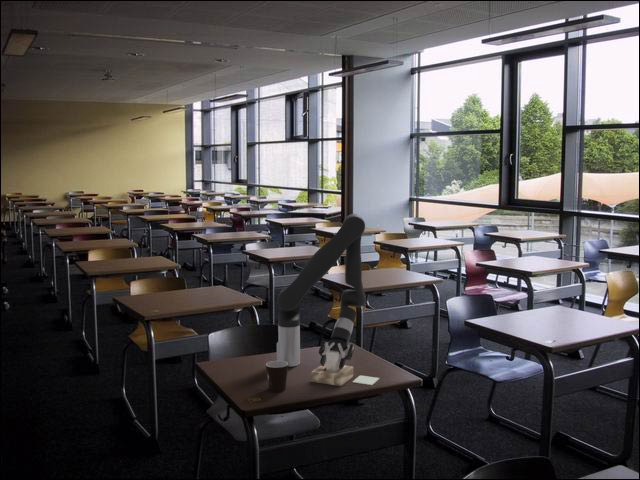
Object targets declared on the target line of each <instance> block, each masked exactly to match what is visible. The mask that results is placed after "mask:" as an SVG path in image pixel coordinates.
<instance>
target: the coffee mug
mask: <svg viewBox="0 0 640 480" xmlns="http://www.w3.org/2000/svg"><path fill="white" fill-rule="evenodd" d="M265 369H266V377H267V383H268V390H269V392H273V393H280V392H281V393H282V392H284V391H286V388H287V379H288V369H289V367H288V363H287V362H285V361H277V360H271V361H267V362H266V363H265Z"/></svg>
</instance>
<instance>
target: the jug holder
mask: <svg viewBox="0 0 640 480" xmlns="http://www.w3.org/2000/svg"><path fill="white" fill-rule="evenodd" d="M310 374H311V376H310V377H311V380H310V381H311V382H312V383H318V384H319V383H320V384H324V385H325V384H326V385H332V386H337V387H338V386H339V387H341V386H343V385H344V384H346V383H347V382H348V381H349V380H350V379H352V378H353V377H354V366H351V365H346V364H345V365H344V367H343V368H342V369H340V368H339V372H337V373H334V372H328V371H326V362H325V364H324V366H322V365H321V364H320V366H318V367H316V368H315V369H313V370H312V371H311V373H310Z"/></svg>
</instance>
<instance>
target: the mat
mask: <svg viewBox="0 0 640 480" xmlns="http://www.w3.org/2000/svg"><path fill="white" fill-rule="evenodd" d="M379 380H380V377H376V376H375V377H373V376H367V375H359V376H357V377H356V378H355V379H354V380H353V381H351V382H352V383H354V384H360V385H365V386H366V385H367V386H373V385H374V384H375V383H377V382H378V381H379Z"/></svg>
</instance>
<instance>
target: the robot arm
mask: <svg viewBox="0 0 640 480" xmlns="http://www.w3.org/2000/svg"><path fill="white" fill-rule="evenodd" d="M365 229H366V223H365V220H364V219H363V218H362V216H361V215H359V214H356V213H351V214H348V215H347V216H345V218H344V219H343V221H342V224H341V226H340V228H339V229H338V230H337V232H336V233H335V235H334V236H333V237H332V238H330V240H328V241H327V242H326V243H324V245H322V246H321V247H320V248H318V249H317V251H316V252H314V254H313V255H312V256H311V257H310V258H309V260H308V261H307V262H306V263H305V265H304V266H303V268H302V269H301V271H300V272H299V274H298V276H297V277H296V278H295V279H294V281H292V282H291V283H290V285H288V286H285V287H284V288H282V289H281V290H280V292H279V294H278V295H277V300H276V303H277V305H278V319H277V323H278V324H277V325H278V327H277V328H278V329H277V331H278V341H277V342H276V361H285V362H287V363H288V368H290V367H292V368H293V367H297V366H299V365H300V364H301V335H300V334H301V331H300V329H301V328H300V327H301V326H300V325H301V324H300V321H301V320H300V319H301V301H302V300H303V298H304V297H305V296H306V295H307V293H308V292H309V291H310V290H311V289H312V288H313V287H314V286H315V285H316V284H317V283H318V282H319V281H320V280H321V279H323V277H324V276H326V274H327V273H328V272H329V271H330V270H331V269H332V268H333V266H334V265H335V264H336V263H337V262H338V260H339V259H340V257H341V256H342V255H343V253H344V252H345V263H344V264H345V267H344V269H345V270H344V271H345V272H344V273H345V274H344V275H345V276H344V281H345V284H346V285H347V286H351V287H353V288H354V289H345V290H343V291H342V292H341V294H340V309H339V314H338V317H337V320H336V322H335V324H334V327H333V329H332V333H331V336H330V340H329V341H328V342H327V341H325V340H322V341H321V344H320V347H319V350H318V354H319V356H320V357H321V358H320V361H319V364H320V366H321V365H322V366H324V364H325V363H326V352H327V351H332V350H333V351H338V352H339V355H341V359H340V360H339V368H340V369H342V368H343V367H344V365H345V366H346V361H352V358H353V355H354V351H355V347H354V345H353V344H352V343H351V344H349V343H350V339H351V335H352V333H353V331H354V330H353V329H354V324H355V321H356V318H357V311H356V309H354V308H362V307H363V306H364V305H365V304H366V299H367V298H366V292H365V289H364V287H363V286H364V285H363V282H362V281H363V280H362V279H363V278H362V273H363V268H362V267H363V266H362V253H361V249H362V248H361V245H362V235H363V234H364V232H365ZM352 307H353V308H352ZM346 350H348V351H347V354H346V353H345V351H346Z"/></svg>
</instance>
